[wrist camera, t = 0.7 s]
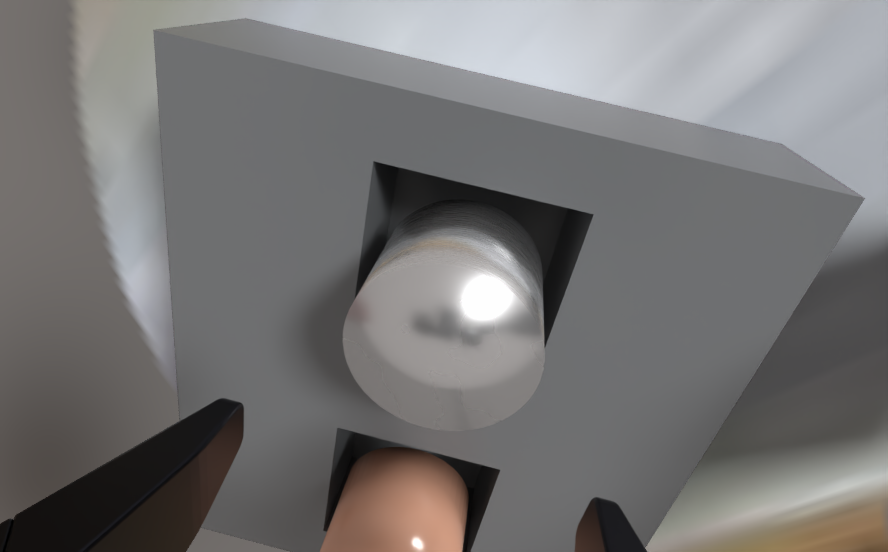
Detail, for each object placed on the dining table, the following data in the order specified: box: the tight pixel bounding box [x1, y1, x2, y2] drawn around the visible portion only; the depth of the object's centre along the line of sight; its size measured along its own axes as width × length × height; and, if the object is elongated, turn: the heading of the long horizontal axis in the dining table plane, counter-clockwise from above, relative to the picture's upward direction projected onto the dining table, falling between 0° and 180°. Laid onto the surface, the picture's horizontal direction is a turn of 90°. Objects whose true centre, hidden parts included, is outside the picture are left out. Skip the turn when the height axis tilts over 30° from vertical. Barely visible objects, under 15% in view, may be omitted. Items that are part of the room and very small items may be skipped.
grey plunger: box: [343, 199, 545, 431], centre depth 14 cm, size 5×5×4 cm
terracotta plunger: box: [320, 447, 469, 552], centre depth 19 cm, size 5×5×4 cm
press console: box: [153, 19, 865, 552], centre depth 20 cm, size 18×20×5 cm
